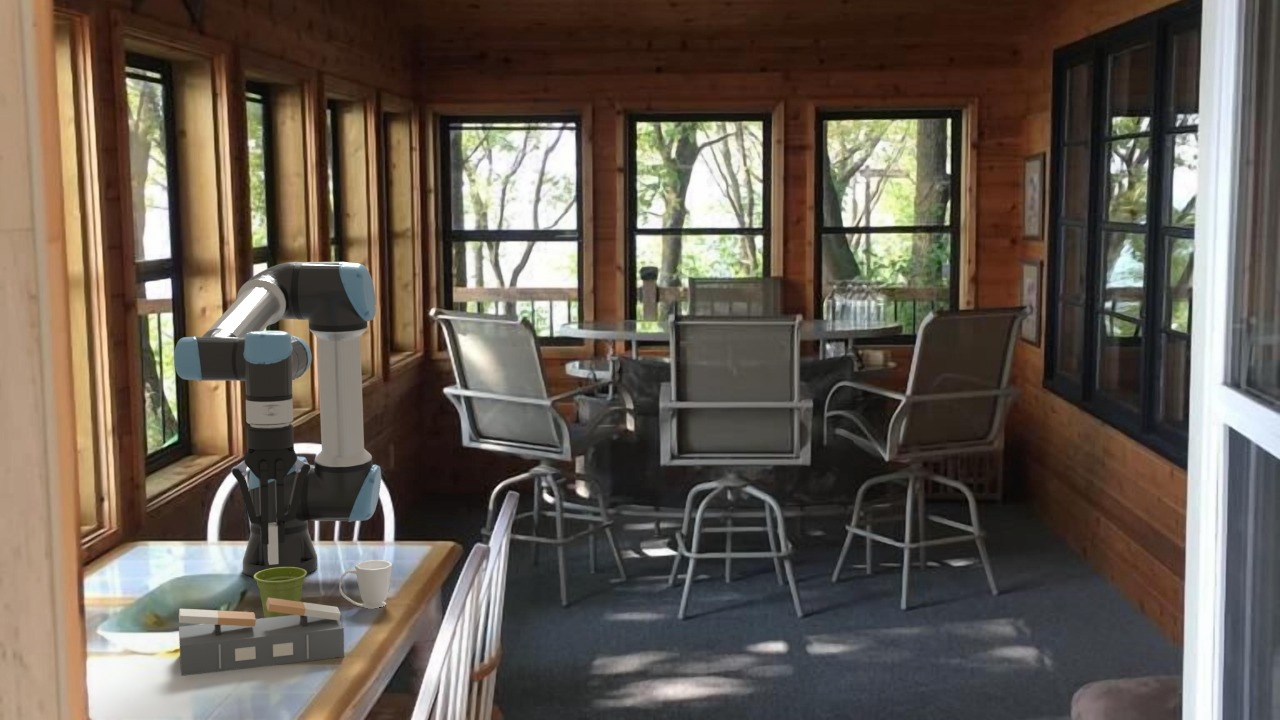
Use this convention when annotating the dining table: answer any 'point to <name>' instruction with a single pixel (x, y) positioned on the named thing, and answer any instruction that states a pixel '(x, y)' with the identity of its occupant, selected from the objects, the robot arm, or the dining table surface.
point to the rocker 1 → (217, 617)
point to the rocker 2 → (303, 608)
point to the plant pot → (280, 586)
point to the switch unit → (259, 643)
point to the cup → (371, 582)
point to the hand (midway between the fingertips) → (273, 562)
